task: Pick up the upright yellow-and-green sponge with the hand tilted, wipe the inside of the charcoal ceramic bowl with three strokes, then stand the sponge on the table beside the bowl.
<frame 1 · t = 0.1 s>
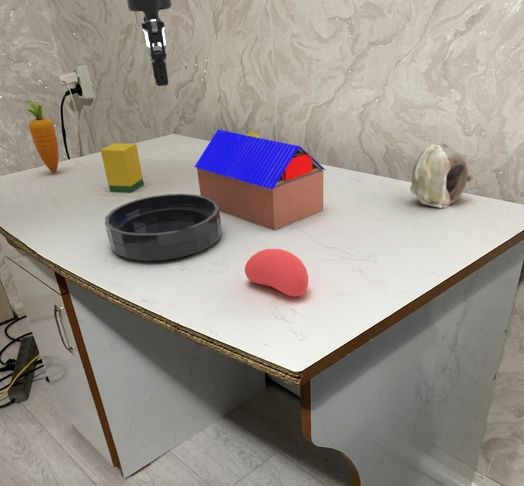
hand: (161, 81, 101), 18 cm above the table, tool pointing down, fingers open, 8 cm apart
lemon: (253, 172, 111), on the table
carrot: (54, 173, 120), on the table
house: (260, 207, 94), on the table
bowl: (167, 240, 84), on the table
sea shell: (438, 202, 91), on the table
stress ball: (279, 289, 69), on the table
sponge: (127, 187, 108), on the table
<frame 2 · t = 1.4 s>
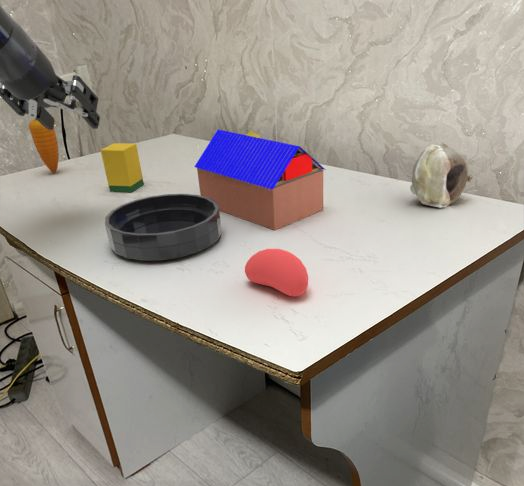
hand: (74, 124, 91), 14 cm above the table, tool tilted 45°, fingers open, 8 cm apart
nothing on the table moved.
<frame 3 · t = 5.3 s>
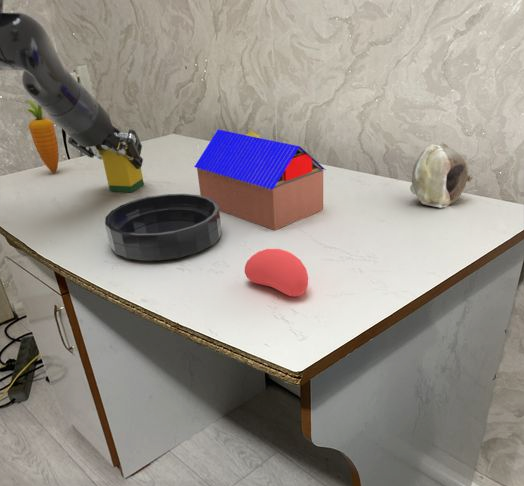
hand: (127, 164, 107), 4 cm above the table, tool tilted 45°, fingers closed on sponge, 5 cm apart
sponge: (127, 187, 108), on the table, touching gripper
everything else where it was.
when the fingers open (4 cm above the table, at t = 22.6 s): sponge stays where it is, on the table.
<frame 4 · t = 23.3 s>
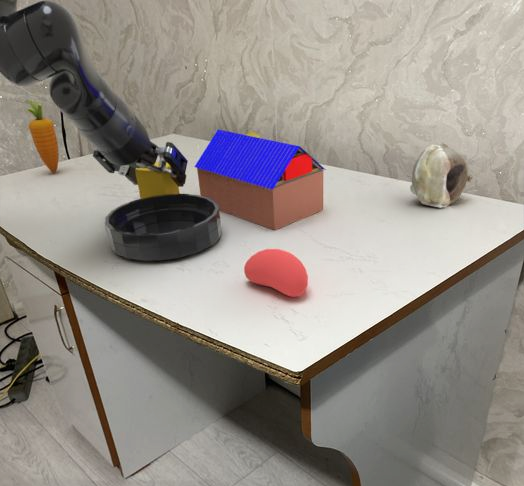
hand: (160, 180, 93), 5 cm above the table, tool tilted 45°, fingers open, 8 cm apart
sponge: (163, 211, 95), on the table
everything else where it was.
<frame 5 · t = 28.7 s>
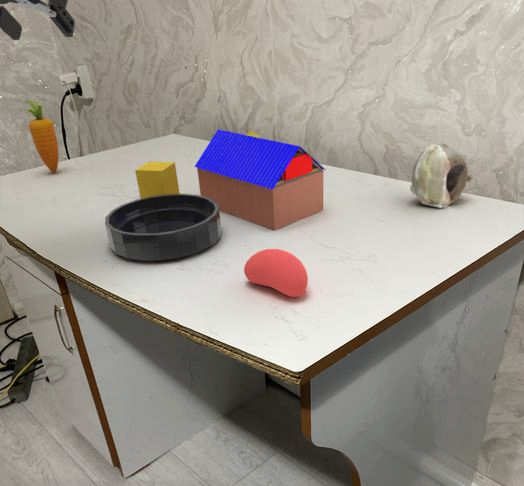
hand: (44, 33, 72), 29 cm above the table, tool tilted 45°, fingers open, 8 cm apart
nothing on the table moved.
at the end: sponge inside the target area on the table beside the bowl (0.3 cm from its centre), on the table; sponge tilted 0°; the gripper is holding nothing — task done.
